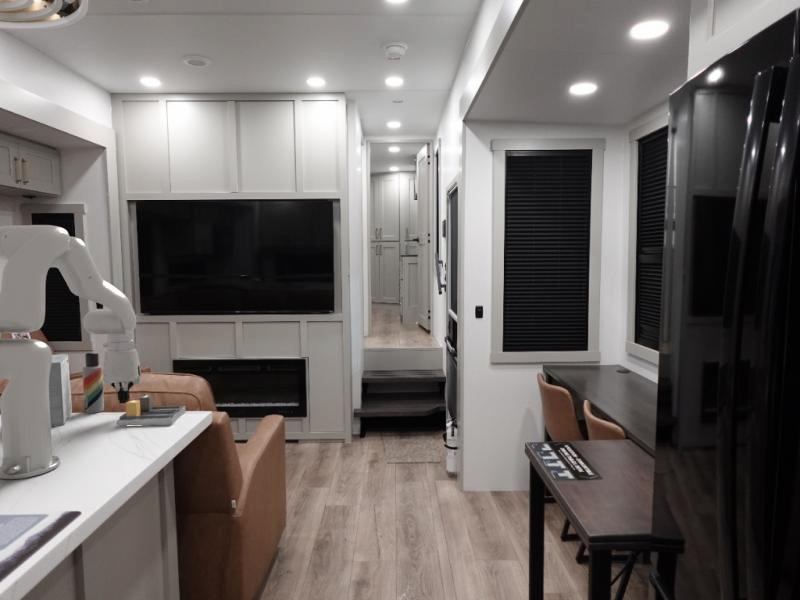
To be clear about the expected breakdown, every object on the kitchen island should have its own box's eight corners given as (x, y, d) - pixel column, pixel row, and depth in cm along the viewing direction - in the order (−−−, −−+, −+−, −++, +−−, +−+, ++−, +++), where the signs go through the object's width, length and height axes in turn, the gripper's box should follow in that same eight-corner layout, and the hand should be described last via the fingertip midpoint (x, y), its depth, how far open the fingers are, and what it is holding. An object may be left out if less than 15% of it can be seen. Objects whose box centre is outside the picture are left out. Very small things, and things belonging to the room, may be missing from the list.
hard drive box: (44, 415, 170) (41, 355, 169) (72, 412, 173) (69, 353, 172) (34, 428, 156) (31, 363, 155) (64, 425, 159) (61, 361, 158)
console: (171, 424, 159) (171, 416, 159) (117, 427, 157) (116, 418, 157) (185, 412, 173) (185, 404, 173) (135, 413, 171) (135, 406, 171)
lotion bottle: (80, 412, 173) (77, 353, 171) (95, 408, 178) (92, 350, 177) (93, 414, 171) (91, 354, 170) (108, 409, 176) (105, 351, 175)
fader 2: (149, 411, 166) (148, 397, 166) (139, 411, 166) (139, 397, 166) (152, 409, 169) (152, 394, 169) (143, 409, 169) (142, 395, 169)
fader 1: (136, 417, 160) (136, 402, 160) (126, 417, 160) (125, 402, 159) (140, 414, 163) (139, 399, 163) (130, 414, 163) (129, 400, 162)
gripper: (90, 348, 161) (94, 406, 163) (141, 347, 163) (143, 404, 164) (101, 344, 168) (104, 399, 170) (149, 343, 170) (152, 398, 172)
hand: (124, 402), depth 167 cm, fingers closed
